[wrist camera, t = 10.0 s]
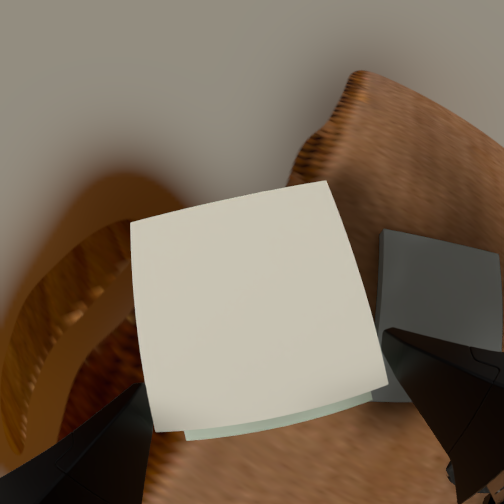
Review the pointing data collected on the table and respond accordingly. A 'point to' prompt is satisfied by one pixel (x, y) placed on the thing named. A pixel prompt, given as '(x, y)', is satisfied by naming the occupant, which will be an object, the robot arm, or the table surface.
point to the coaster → (436, 296)
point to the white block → (251, 310)
